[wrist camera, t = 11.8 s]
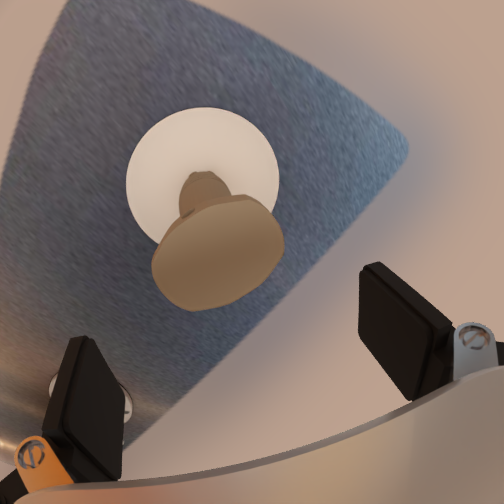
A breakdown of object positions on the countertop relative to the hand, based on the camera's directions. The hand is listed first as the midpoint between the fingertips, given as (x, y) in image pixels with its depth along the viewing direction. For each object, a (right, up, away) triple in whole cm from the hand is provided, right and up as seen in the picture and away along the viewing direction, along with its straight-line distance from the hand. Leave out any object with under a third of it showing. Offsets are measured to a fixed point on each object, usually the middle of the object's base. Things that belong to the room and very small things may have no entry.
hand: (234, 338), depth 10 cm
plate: (-4, +9, +19) cm, 22 cm away
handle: (-4, +9, +18) cm, 21 cm away
